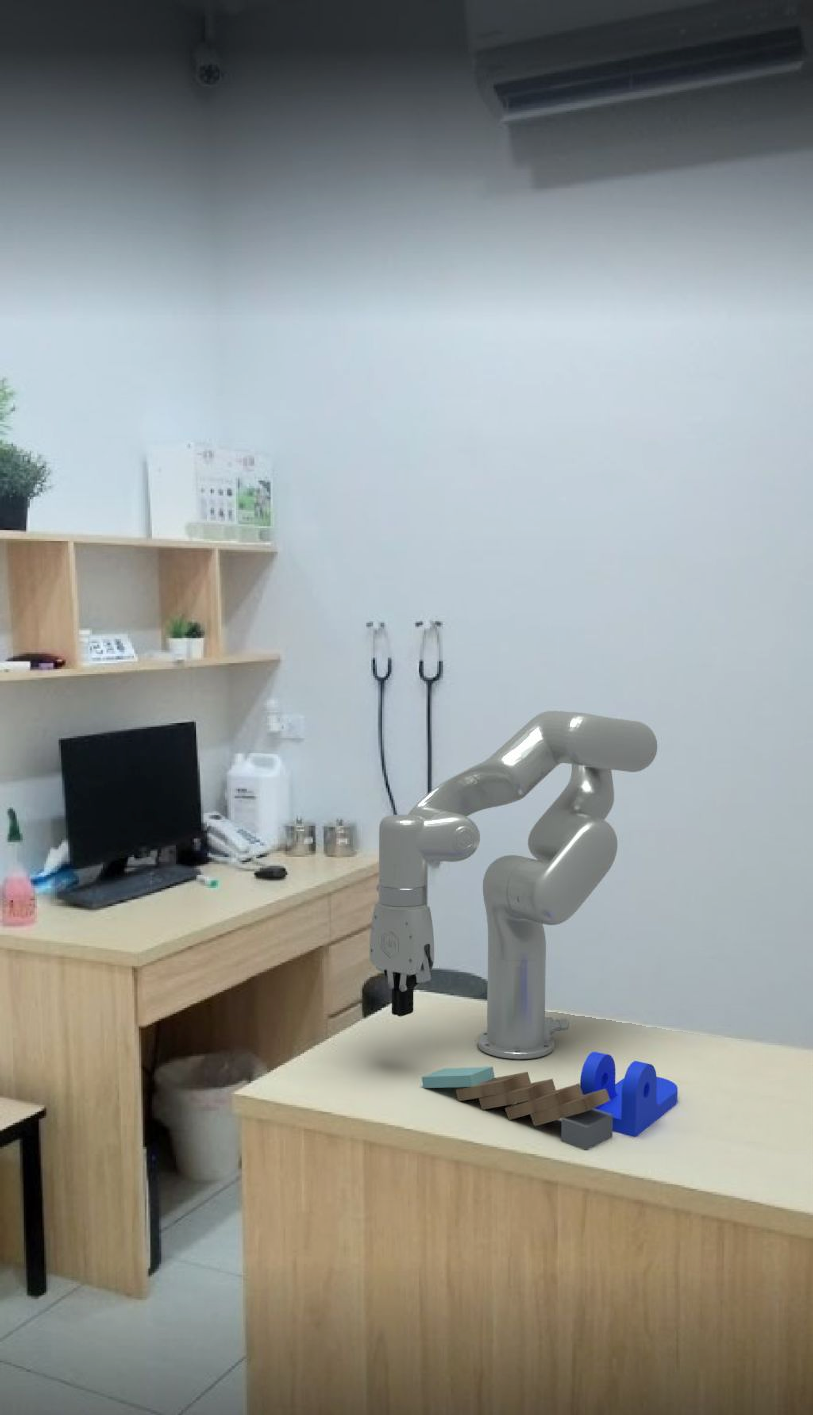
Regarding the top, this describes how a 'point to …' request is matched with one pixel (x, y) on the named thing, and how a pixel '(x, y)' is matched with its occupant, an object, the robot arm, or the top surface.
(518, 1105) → the tile
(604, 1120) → the block
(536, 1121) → the tile
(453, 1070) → the tile
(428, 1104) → the top surface
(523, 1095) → the tile
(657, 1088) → the bracket
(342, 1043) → the top surface
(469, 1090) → the tile
